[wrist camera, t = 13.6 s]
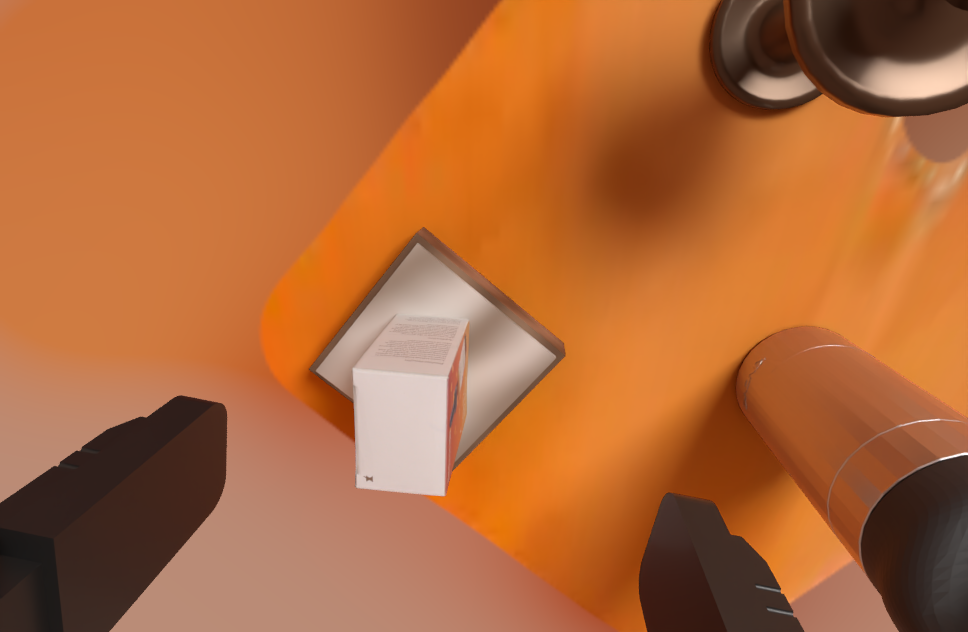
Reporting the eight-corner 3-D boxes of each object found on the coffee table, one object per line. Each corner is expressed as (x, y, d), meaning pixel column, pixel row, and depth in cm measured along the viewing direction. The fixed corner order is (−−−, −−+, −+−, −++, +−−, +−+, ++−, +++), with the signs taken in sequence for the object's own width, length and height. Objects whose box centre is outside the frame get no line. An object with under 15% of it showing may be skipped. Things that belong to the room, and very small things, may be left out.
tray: (563, 343, 43) (565, 357, 40) (452, 457, 47) (447, 478, 44) (423, 227, 41) (415, 233, 38) (321, 356, 45) (306, 371, 42)
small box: (467, 415, 42) (446, 501, 32) (395, 409, 43) (353, 492, 33) (471, 316, 40) (450, 376, 30) (395, 311, 40) (349, 369, 30)
